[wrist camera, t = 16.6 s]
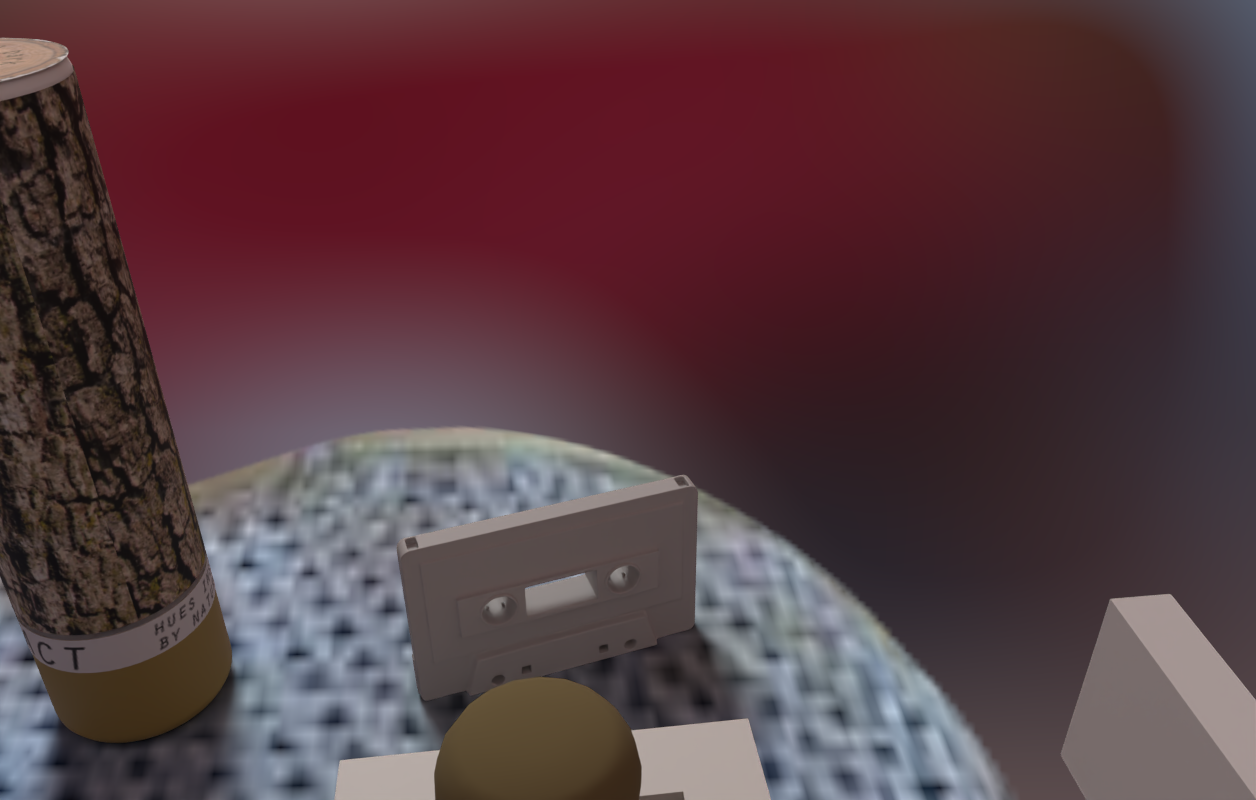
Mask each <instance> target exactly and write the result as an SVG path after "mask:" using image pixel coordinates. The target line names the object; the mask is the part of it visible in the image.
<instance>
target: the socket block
mask: <svg viewBox="0 0 1256 800" xmlns="http://www.w3.org/2000/svg"><path fill="white" fill-rule="evenodd" d="M631 731H632V734H633V737H634V739H635V742H636V746H637V750H638V754H639V758H640V762H641V766H642V779H641V789H640V796H639V800H771V798H770V795H769V791H768V787H767V784H766V780H765V777H764V773H763V770H762V766H761V763H760V759H759V756H758V752H757V748H756V745H755V741H754V738H753V734H752V731H751V727H750V724H749V720H748V719H738V720H728V721H719V722H709V723H699V724H689V725H680V726H670V727H660V728H651V729H641V730H631ZM439 751H440V750H437V751H427V752H417V753H408V754H398V755H388V756H378V757H369V758H359V759H349V760H340V763H339V771H338V778H337V785H336V793H335V800H435V784H434V771H435V766H436V761H437V757H438V754H439Z"/></svg>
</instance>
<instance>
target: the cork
mask: <svg viewBox="0 0 1256 800" xmlns="http://www.w3.org/2000/svg"><path fill="white" fill-rule="evenodd" d="M641 779H642V766H641V762H640V758H639V754H638V750H637V746H636V742H635V739H634V737H633V734H632V731H631V729H630V727H629V726H628V724H627V723H626V722H625V720H624V719H623V717H622V716H621V714H620V713H619V712H618V710H617V709H616V708H615V707H614V706H613V705H612V704H611V703H609V702H608V701H607V700H606V699H604V698H603V697H602V696H600V695H599V694H597V693H596V692H595V691H593V690H592V689H590V688H589V687H587V686H584V685H581V684H578V683H575V682H572V681H570V680H567V679H560V678H548V677H534V678H527V679H520V680H513V681H511V682H508V683H506V684H503V685H501V686H498V687H496V688H493V689H490V690H488V691H487V692H486V693H484V694H483V695H481V696H480V697H479V698H477V699H476V700H475V701H473V702H472V703H470V704H469V705H468V706H467V707H466V709H465V710H464V711H463V713H462V714H461V715H460V716H459V718H458V719H457V720H456V721H455V723H454V724H453V725H452V727H451V728H450V729H449V730H448V732H447V733H446V734H445V737H444V740H443V743H442V746H441V749H440V751H439V754H438V757H437V761H436V766H435V771H434V784H435V800H639V796H640V789H641Z"/></svg>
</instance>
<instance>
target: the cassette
mask: <svg viewBox="0 0 1256 800" xmlns="http://www.w3.org/2000/svg"><path fill="white" fill-rule="evenodd" d="M697 506H698V491H697V489H696V487H695V486H694V485H693V483H692V482H691V480H690V479H689V478H688V477H687V476H685V475H681V476H677V477H672V478H668V479H663V480H659V481H655V482H650V483H646V484H641V485H637V486H633V487H628V488H624V489H619V490H615V491H610V492H606V493H602V494H597V495H593V496H588V497H584V498H580V499H575V500H571V501H566V502H562V503H558V504H553V505H549V506H544V507H540V508H536V509H531V510H527V511H522V512H518V513H514V514H509V515H505V516H500V517H496V518H492V519H487V520H483V521H478V522H474V523H470V524H465V525H461V526H456V527H452V528H448V529H443V530H439V531H434V532H430V533H426V534H421V535H417V536H412V537H408V538H403V539H402V540H400V541H399V542H398V544H397V555H398V561H399V567H400V574H401V580H402V587H403V593H404V599H405V606H406V612H407V618H408V625H409V631H410V638H411V644H412V650H413V654H412V658H413V664H414V671H415V677H416V683H417V689H418V692H419V694H421V697H422V698H423V699H424V700H425V701H429V700H432V699H436V698H440V697H443V696H447V695H451V694H454V693H458V692H463V691H467V692H468V694H469V695H470V696H472V695H475V694H479V693H483V692H486V691H488V690H490V689H493V688H496V687H498V686H501V685H503V684H506V683H508V682H511V681H513V680H520V679H527V678H534V677H541V676H545V675H548V674H552V673H556V672H559V671H563V670H566V669H570V668H574V667H577V666H581V665H585V664H588V663H592V662H596V661H599V660H603V659H607V658H610V657H614V656H617V655H621V654H625V653H628V652H632V651H636V650H639V649H643V648H647V647H650V646H654V645H657V639H658V638H660V637H664V636H667V635H671V634H674V633H678V632H682V631H685V630H689V629H691V628H692V627H693V626H694V623H695V586H696V546H697ZM581 573H585V575H582V576H578V577H574V578H570V579H566V580H562V581H558V582H554V583H549V584H545V585H541V586H537V587H533V588H529V589H525V588H526V587H530V586H533V585H537V584H541V583H545V582H549V581H553V580H557V579H561V578H565V577H569V576H573V575H577V574H581Z"/></svg>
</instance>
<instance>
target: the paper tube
mask: <svg viewBox="0 0 1256 800" xmlns="http://www.w3.org/2000/svg"><path fill="white" fill-rule="evenodd" d="M67 55H68V49H67V48H66V47H65V46H63V45H60V44H58V43H54V42H50V41H44V40H37V39H23V38H0V577H1V580H2V582H3V585H4V587H5V590H6V592H7V595H8V597H9V599H10V602H11V604H12V607H13V609H14V612H15V614H16V617H17V619H18V622H19V624H20V627H21V629H22V632H23V634H24V637H25V639H26V642H27V644H28V647H29V649H30V651H31V652H32V654H33V657H34V659H35V662H36V664H37V667H38V669H39V672H40V674H41V677H42V679H43V682H44V684H45V687H46V689H47V692H48V694H49V697H50V699H51V702H52V704H53V706H54V709H55V711H56V713H57V715H58V717H59V719H60V720H61V721H62V723H63V724H64V725H65V726H66V727H67V728H68V729H69V730H71V731H73V732H74V733H76V734H78V735H80V736H83V737H85V738H88V739H91V740H95V741H100V742H107V743H125V742H133V741H139V740H144V739H148V738H151V737H155V736H157V735H160V734H163V733H165V732H168V731H170V730H172V729H174V728H176V727H178V726H180V725H182V724H184V723H185V722H187V721H189V720H190V719H191V718H193V717H194V716H196V715H197V714H198V713H200V712H201V711H202V710H203V709H204V708H205V707H206V706H207V705H209V704H210V702H211V701H212V700H213V699H214V698H215V697H216V695H217V694H218V693H219V691H220V690H221V688H222V686H223V684H224V683H225V681H226V679H227V676H228V674H229V671H230V668H231V663H232V650H231V645H230V641H229V637H228V634H227V630H226V626H225V623H224V619H223V615H222V612H221V608H220V604H219V601H218V597H217V593H216V590H215V584H214V580H213V576H212V572H211V569H210V565H209V561H208V558H207V554H206V551H205V547H204V543H203V539H202V536H201V532H200V528H199V525H198V521H197V517H196V514H195V510H194V506H193V503H192V499H191V495H190V492H189V488H188V484H187V481H186V477H185V473H184V470H183V466H182V463H181V459H180V455H179V452H178V448H177V444H176V441H175V437H174V433H173V429H172V426H171V422H170V418H169V415H168V411H167V408H166V404H165V400H164V396H163V393H162V389H161V385H160V382H159V378H158V374H157V371H156V367H155V363H154V360H153V356H152V352H151V349H150V345H149V341H148V338H147V334H146V330H145V327H144V323H143V319H142V316H141V312H140V308H139V305H138V301H137V297H136V294H135V290H134V287H133V283H132V279H131V275H130V272H129V268H128V264H127V261H126V257H125V254H124V250H123V246H122V242H121V239H120V235H119V231H118V228H117V224H116V220H115V217H114V213H113V209H112V206H111V202H110V198H109V195H108V191H107V187H106V184H105V180H104V176H103V173H102V169H101V165H100V162H99V158H98V154H97V151H96V147H95V143H94V140H93V136H92V132H91V129H90V125H89V121H88V117H87V114H86V110H85V106H84V103H83V99H82V95H81V92H80V88H79V85H78V81H77V77H76V74H75V70H74V67H73V65H72V63H71V62H70V60H69V59H68V58H67Z"/></svg>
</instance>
